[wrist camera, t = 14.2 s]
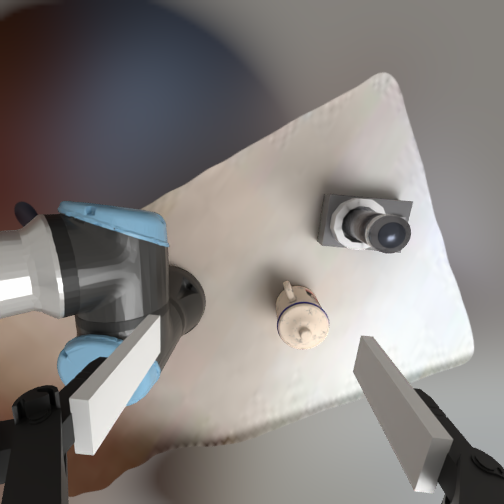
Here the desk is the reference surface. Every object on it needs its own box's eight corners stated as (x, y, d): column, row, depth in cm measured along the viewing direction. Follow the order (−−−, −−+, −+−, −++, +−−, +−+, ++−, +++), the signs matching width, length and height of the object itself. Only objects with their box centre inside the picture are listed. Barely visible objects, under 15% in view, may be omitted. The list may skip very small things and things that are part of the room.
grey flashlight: (349, 240, 42) (385, 262, 30) (333, 219, 42) (363, 232, 29) (372, 223, 41) (420, 238, 29) (356, 201, 41) (398, 207, 28)
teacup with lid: (324, 315, 50) (342, 350, 39) (284, 329, 52) (290, 367, 40) (304, 264, 48) (317, 286, 37) (262, 281, 49) (262, 307, 38)
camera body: (317, 241, 47) (325, 248, 40) (324, 194, 45) (334, 194, 38) (389, 247, 46) (408, 256, 40) (399, 200, 44) (422, 201, 38)
